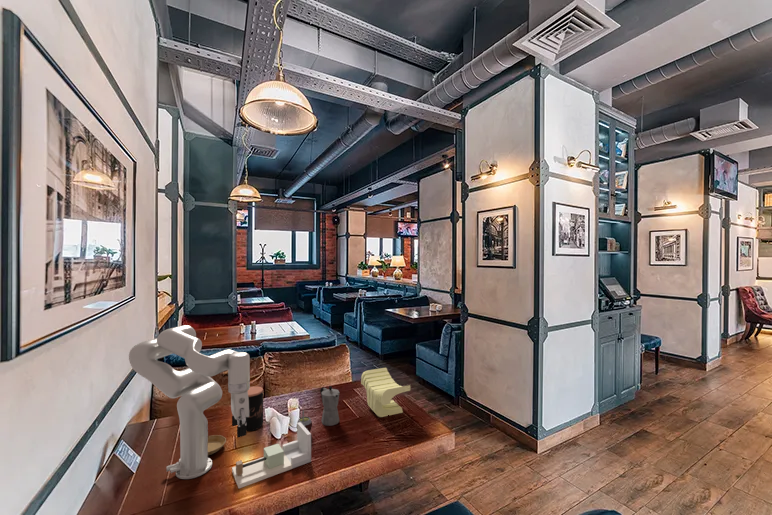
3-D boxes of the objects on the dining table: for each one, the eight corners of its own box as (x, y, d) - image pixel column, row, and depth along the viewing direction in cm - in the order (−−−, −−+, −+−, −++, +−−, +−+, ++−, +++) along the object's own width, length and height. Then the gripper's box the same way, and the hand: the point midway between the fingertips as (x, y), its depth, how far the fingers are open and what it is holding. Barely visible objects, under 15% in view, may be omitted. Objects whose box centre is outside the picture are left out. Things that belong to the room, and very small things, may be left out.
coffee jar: (247, 434, 160) (247, 396, 160) (235, 427, 166) (235, 391, 166) (267, 425, 168) (267, 389, 168) (255, 419, 175) (255, 384, 175)
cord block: (238, 480, 125) (238, 466, 125) (234, 470, 131) (234, 457, 131) (283, 463, 135) (283, 451, 135) (278, 455, 141) (278, 443, 141)
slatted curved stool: (361, 401, 195) (361, 371, 195) (386, 397, 202) (386, 367, 202) (382, 425, 168) (382, 390, 168) (410, 419, 174) (410, 385, 174)
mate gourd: (305, 430, 163) (305, 399, 163) (316, 436, 158) (316, 404, 158) (292, 436, 158) (292, 405, 158) (303, 442, 153) (303, 410, 153)
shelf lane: (238, 488, 123) (238, 457, 123) (232, 471, 133) (231, 442, 133) (311, 461, 139) (311, 433, 139) (300, 447, 149) (300, 422, 149)
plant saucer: (183, 462, 138) (183, 455, 138) (193, 443, 152) (193, 437, 152) (222, 456, 142) (222, 450, 142) (228, 438, 156) (228, 433, 156)
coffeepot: (345, 422, 171) (345, 387, 171) (330, 429, 164) (330, 392, 164) (328, 412, 182) (328, 379, 182) (313, 418, 175) (313, 384, 175)
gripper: (254, 391, 123) (254, 437, 124) (244, 377, 138) (244, 418, 138) (232, 396, 119) (232, 444, 119) (224, 380, 133) (224, 423, 134)
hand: (239, 430), depth 129 cm, fingers open, 9 cm apart
